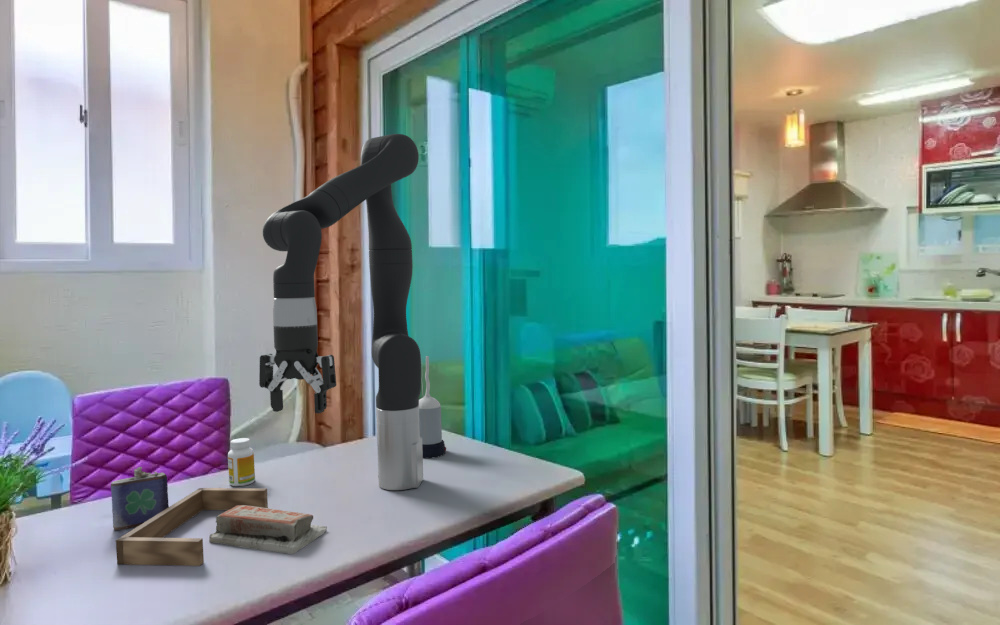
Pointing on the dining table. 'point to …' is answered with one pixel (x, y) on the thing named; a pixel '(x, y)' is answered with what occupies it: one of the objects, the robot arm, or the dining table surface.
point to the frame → (148, 537)
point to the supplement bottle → (241, 463)
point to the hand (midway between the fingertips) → (298, 411)
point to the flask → (138, 498)
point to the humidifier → (430, 422)
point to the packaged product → (265, 529)
